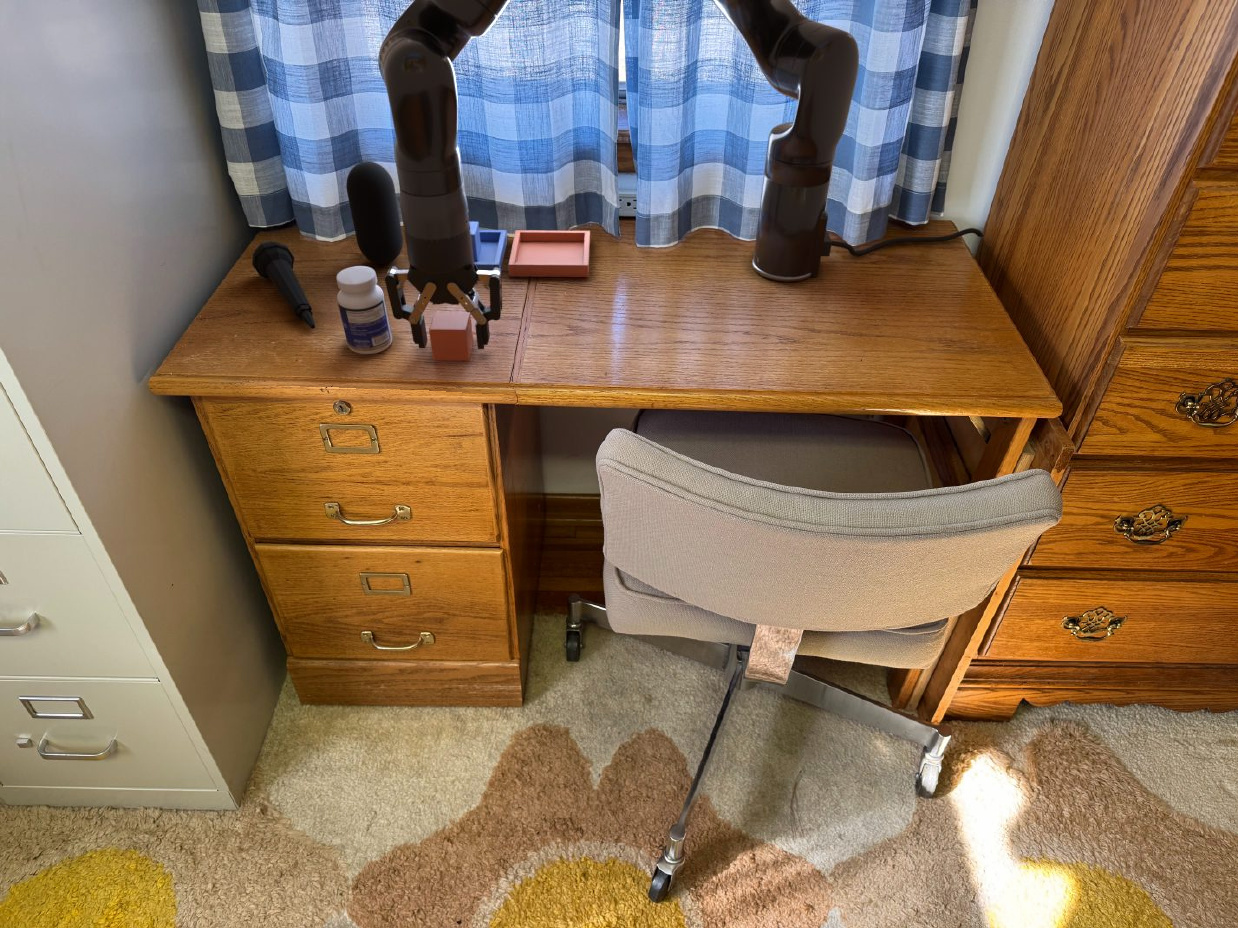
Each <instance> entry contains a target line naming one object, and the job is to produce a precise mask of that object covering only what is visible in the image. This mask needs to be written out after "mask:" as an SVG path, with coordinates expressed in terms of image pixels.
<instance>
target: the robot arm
mask: <svg viewBox="0 0 1238 928" xmlns="http://www.w3.org/2000/svg"><path fill="white" fill-rule="evenodd" d="M510 1H511V0H413V1H412V2H410V4H409V5H408V6H407V8H405V10H404V11H403V12H402V13H401V15H400V16H399V17H398V19H397V20H396V21H395V22H394V23H393V25H392V26H391V27H390V29H389V30H388V32H387V34H386V36H385V37H384V38H383V41H382V43H381V45H380V48H379V51H378V57H377V58H378V59H377V64H378V65H377V66H378V70H379V73H380V76H381V78H382V80H383V84H384V86H385V89H386V93H387V98H388V102H389V107H390V112H391V118H392V123H393V129H394V133H395V139H394V144H393V147H394V159H395V161H394V162H395V168H396V173H397V180H398V186H399V205H400V213H401V219H402V226H403V231H404V238H405V239H404V240H405V244H406V251H407V257H408V264H409V267H408V269H399V268H398V267H397V266H395V265H392V266H389V268H388V270H387V272H386V275H385V276H384V284H385V287H386V291H387V296H388V299H389V304H390V309H391V312H392V316H393V318H394V319H395V320H405V321H408V323H409V324H410V331H411V336H412V341H413V343H414V344H415V345H418V348H419V349H426V347H427V344H428V335H427V333H428V332H427V328H426V327H427V326H426V322H425V321H426V320H425V315H423V313H424V312H425V310H426V308H427V306H428V304H429V303H432V305H433V306H434V305H438V306H439V305H443V304H448V305H451V306H453V305H454V306H456V305H457V306H458V305H459V304H460V305H461V307H462V308H463V309H464V310H465V312H468V313H470V315H471V316H472V318H473V319H474V320H475V334H476V335H475V336H476V343H477V349H478V350H484V349H485V346H487V345H489V341H490V336H491V333H490V323H489V322H491V321H498V320H500V319H501V316H502V315H501V314H502V311H503V285H502V284H503V277H502V273H503V272H502V269H501V270H500V269H499V268H497V267H495V268H493V269H492V271H484V270H478V268H477V267H476V265H475V263H474V259H473V250H472V241H471V231H470V222H471V221H470V220H471V214H470V213H471V212H470V210H469V203H468V199H467V195H466V191H465V186H464V179H463V170H462V169H463V168H462V162H461V151H460V148H459V147H460V146H459V141H458V132H459V131H458V130H459V129H458V127H459V103H458V102H459V101H458V87H457V79H456V73H455V69H454V67H453V63H454V62H455V60H456V59H457V58H458V56H459V55H460V54H461V52H462V51H463V50H464V48H466V46H467V45H468V43H470V41H471V40H472V39H473V38H480V37H483V36H484V35H485V34H486V33H487V32H488V31H489V30H490V29H491V28H492V27H493V25H494V24H495V23H496V21H498V18H499V17H500V16H501V14H502V13H503V11H504V10H505V9H506V7H507V5H508V4H509V2H510ZM711 1H712V3H713V4H714V5H715V6H716V8H717V9H718V10H719V12H720V13H721V14H722V15H723V17H724V18H725V19H726V20H727V21H728V22H729V23H730V25H731V26H732V27H733V28H734V29H735V30H736V31H737V33H738V34H739V36H740V37H741V39H742V40H743V42H744V44H745V45H746V47H747V49H748V50H749V52H750V54H751V55H752V57H753V58H754V60H755V62H756V64H757V65H758V67H759V69H760V71H761V73H762V75H763V76H764V77H765V79H766V81H767V82H768V83H769V85H770V86H771V88H773V89H774V90H775V91H777V92H778V93H779V94H782V95H783V96H785V97H788V98H791V99H793V100H796V101H797V105H796V110H795V114H794V119H793V121H788V122H784V123H780V124H777V125H776V126H773V128H772V129H770V131H769V134H768V137H767V145H766V154H765V160H764V161H765V163H764V168H763V169H764V170H763V178H762V187H761V194H760V203H759V210H758V218H757V227H756V235H755V241H754V250H753V256H752V262H751V266H752V269H753V270H754V272H755V273H757V274H758V275H759V276H761V277H763V278H766V279H769V280H772V281H777V282H785V283H788V282H789V283H791V282H801V281H804V280H808V279H810V278H817V277H818V276H819V271H820V265H821V258H822V257H830V256H831V251H832V250H831V249H832V247H838V248H842V249H846V250H847V251H848V252H849V254H850V255H851V256H854V257H860V256H863V255H867V254H869V253H872V252H875V251H876V250H878V249H881V248H882V247H883V248H884V247H886V246H889V245H895V244H903V243H939V242H940V243H941V242H949V241H951V240H955V239H958V238H959V237H962V236H965V235H968V234H974V235H976V236H977V237H978V238H984V234H983V232H982V231H981V230H979V229H978V228H974V227H969V228H965V229H961V230H959V231H957V232H955V233H952V234H948V235H941V236H904V237H894V238H889V239H885V240H882V241H879V242H877V243H875V244H873V245H871V246H869V247H867V248H864V249H860V250H859V249H858V250H855V248H854V247H853V246H852V245H851V244H849V243H847V242H844V241H838V240H832V239H831V237H830V235H829V232H828V229H827V226H828V221H829V214H828V212H827V210H826V207H827V201H828V196H829V190H830V185H831V180H832V179H831V178H832V173H833V167H834V160H835V156H836V150H837V147H838V144H839V142H840V141H841V139H842V137H843V134H844V133H845V129H846V126H847V122H848V117H849V113H850V109H851V105H852V100H853V96H854V92H855V87H856V83H857V77H858V72H859V65H860V51H859V46H858V43H857V41H856V38H855V37H854V36H853V35H852V34H851V33H850V32H847V31H846V30H843V29H841V28H837V27H835V26H831V25H828V24H824V23H822V22H818V21H814V20H812V19H811V18H808V17H806V16H805V15H804V14H803V13H802V12H801V11H800V10H799V9H798V8H797V7H796V6H795V5H794V3H793V2H792V0H711ZM407 281H408V282H409V283H410V284H411V285H412V286H413V287H414V288H415V289H416V290H417V292H418V296H417V298H416V300H415V302H414V304H413V306H412V305H409V304H407V302H406V301H407V300H406V297H405V296H406V295H405V293H404V288H405V286H406V283H407ZM478 282H481V283H482V284H483V288H484V289H486V290H487V291H489V305H488V306H487V305H486V304H485V303H484V302H483V301H482V299H481V297H480V295H479V293H478V291H477V290H476V289H475V288H474V287H475V286H476V285H477V283H478Z"/></svg>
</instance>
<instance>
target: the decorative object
mask: <svg viewBox="0 0 1238 928" xmlns="http://www.w3.org/2000/svg"><path fill="white" fill-rule="evenodd" d="M345 184H346V185H345V187H346V194H347V198H348V203H349V209H350V213H351V218H352V224H353V228H354V229H353V230H354V233H355V234H354V235H355V238H356V243H357V246H358V249H359V251H360V253H361V254H362V255H363V256H364V257H365V258H366V259H367V260H368V261H370V262H372V263H374V264H378V265H386V264H389V263H392V262H393V261H395V260H396V259H397V258H398V257H399V256H400V254H401V252H402V250H403V245H404V237H403V229H402V224H401V218H400V213H399V212H400V210H399V207H398V200H397V193H396V187H395V183H394V179H393V177H392V176H391V175H390V172H389V171H388V170H387V169H386V168H385V167H383V166H382V165H381V164H380V163H377V162H374V161H362V162H358V163H357V164H355V165H354V166H353V167H352V168H351V169H350V171H349V173H348V175H347V178H346V183H345Z"/></svg>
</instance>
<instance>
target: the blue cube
mask: <svg viewBox="0 0 1238 928" xmlns="http://www.w3.org/2000/svg"><path fill="white" fill-rule="evenodd" d="M469 222H470V231H471V241H472V250H473V259H474V262H478V259H479V255H480V252H481V242H480V232H479V230H480V224H479V221H469Z"/></svg>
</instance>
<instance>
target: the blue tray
mask: <svg viewBox="0 0 1238 928" xmlns="http://www.w3.org/2000/svg"><path fill="white" fill-rule="evenodd" d="M479 232H480V242H481V252H480V255H479V259H478V262H474V263H475V265H476V267H477V268H478V270H484V271H492V269H493V268H495V267H497V268H499V269H500V270H501V271H502V269H503V263H504V258H505V253H506V250H507V245H508V235H507V234H508V232H507V230H506V229H479Z"/></svg>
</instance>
